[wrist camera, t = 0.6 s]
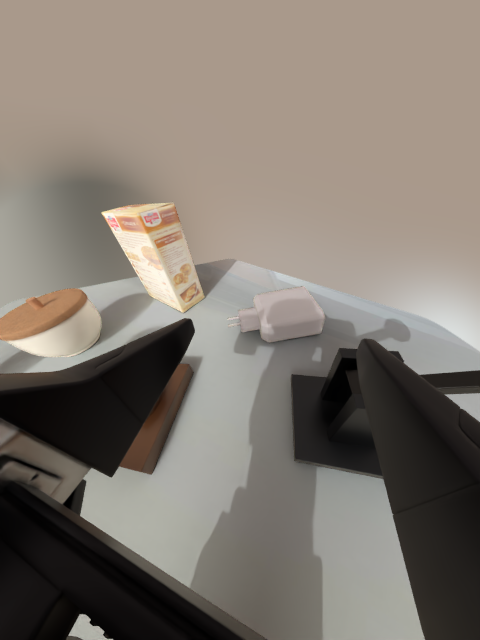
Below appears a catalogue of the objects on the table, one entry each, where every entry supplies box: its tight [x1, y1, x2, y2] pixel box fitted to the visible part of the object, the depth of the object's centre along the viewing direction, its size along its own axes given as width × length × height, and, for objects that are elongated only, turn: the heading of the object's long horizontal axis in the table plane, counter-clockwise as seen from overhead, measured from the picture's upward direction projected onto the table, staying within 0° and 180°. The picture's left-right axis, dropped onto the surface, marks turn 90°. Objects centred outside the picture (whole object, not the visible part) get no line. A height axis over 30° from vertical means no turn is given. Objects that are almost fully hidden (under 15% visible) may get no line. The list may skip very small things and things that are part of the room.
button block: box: [119, 364, 194, 474], centre depth 22 cm, size 12×10×4 cm
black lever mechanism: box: [291, 348, 404, 479], centre depth 16 cm, size 11×9×10 cm
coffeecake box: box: [102, 203, 205, 313], centre depth 37 cm, size 15×7×20 cm, turn 52°
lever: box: [346, 369, 480, 394], centre depth 12 cm, size 12×3×3 cm, turn 80°
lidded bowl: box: [0, 289, 102, 357], centre depth 31 cm, size 13×13×11 cm
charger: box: [228, 286, 325, 342], centre depth 30 cm, size 5×9×15 cm
